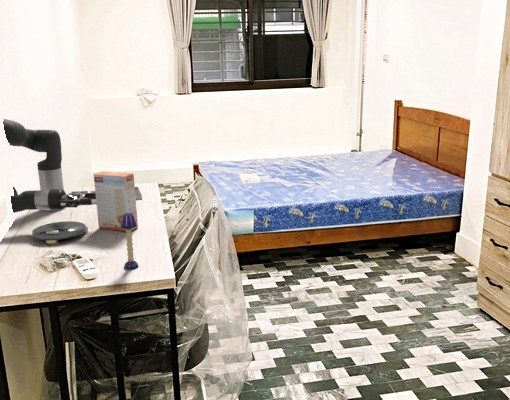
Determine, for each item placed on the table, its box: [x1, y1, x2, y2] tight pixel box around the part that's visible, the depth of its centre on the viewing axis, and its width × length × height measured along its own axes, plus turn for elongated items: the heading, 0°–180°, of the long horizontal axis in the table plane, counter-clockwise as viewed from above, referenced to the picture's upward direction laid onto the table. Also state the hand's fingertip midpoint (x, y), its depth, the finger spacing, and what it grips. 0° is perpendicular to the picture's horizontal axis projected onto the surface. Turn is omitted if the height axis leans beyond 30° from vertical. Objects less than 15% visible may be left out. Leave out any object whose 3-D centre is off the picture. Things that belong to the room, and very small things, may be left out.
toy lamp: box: [121, 213, 139, 270], centre depth 163 cm, size 5×5×17 cm
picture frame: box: [89, 186, 143, 205], centre depth 248 cm, size 16×2×22 cm
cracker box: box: [93, 170, 139, 232], centre depth 200 cm, size 14×6×21 cm, turn 65°
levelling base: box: [31, 220, 89, 246], centre depth 194 cm, size 19×18×4 cm
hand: (94, 198), depth 200 cm, fingers open, 8 cm apart
